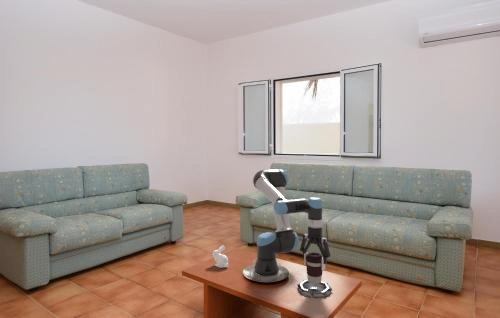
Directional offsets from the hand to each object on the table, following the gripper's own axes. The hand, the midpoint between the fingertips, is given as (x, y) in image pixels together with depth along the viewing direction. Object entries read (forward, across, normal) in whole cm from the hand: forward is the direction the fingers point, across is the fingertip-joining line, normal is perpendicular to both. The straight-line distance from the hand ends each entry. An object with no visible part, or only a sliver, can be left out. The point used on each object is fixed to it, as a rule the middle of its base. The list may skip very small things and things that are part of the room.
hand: (314, 266), depth 174 cm
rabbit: (+13, -64, -9) cm, 66 cm away
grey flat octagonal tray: (+13, 0, 0) cm, 13 cm away
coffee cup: (+8, 0, 0) cm, 8 cm away
